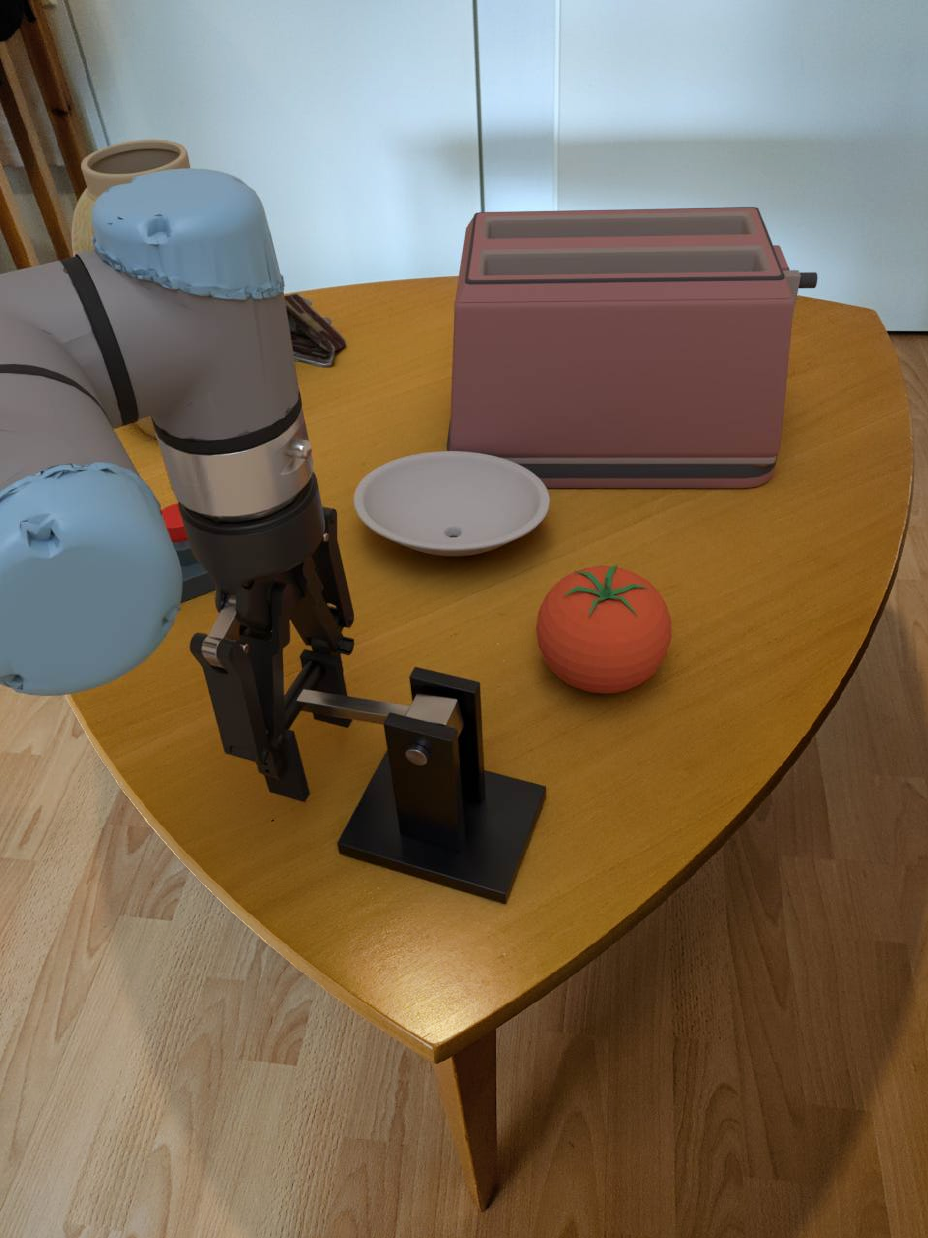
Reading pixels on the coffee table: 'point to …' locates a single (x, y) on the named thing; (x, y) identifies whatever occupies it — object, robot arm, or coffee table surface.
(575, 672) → the tomato
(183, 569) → the control block
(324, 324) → the chocolate cake
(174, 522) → the button
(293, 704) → the lever
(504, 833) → the bracket
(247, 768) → the coffee table surface
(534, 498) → the dish
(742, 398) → the toaster
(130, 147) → the vase
